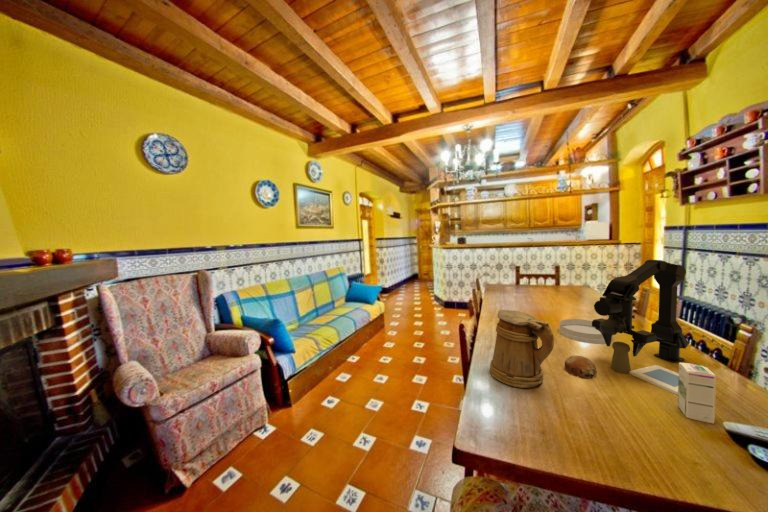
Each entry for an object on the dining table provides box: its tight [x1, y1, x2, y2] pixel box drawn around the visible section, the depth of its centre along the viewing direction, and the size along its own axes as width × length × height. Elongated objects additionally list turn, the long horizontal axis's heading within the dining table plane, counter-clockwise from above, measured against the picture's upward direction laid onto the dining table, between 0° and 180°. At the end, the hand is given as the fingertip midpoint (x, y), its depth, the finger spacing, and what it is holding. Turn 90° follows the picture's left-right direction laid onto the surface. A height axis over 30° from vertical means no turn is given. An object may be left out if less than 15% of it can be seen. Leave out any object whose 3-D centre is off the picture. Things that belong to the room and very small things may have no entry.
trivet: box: [628, 364, 679, 396], centre depth 93 cm, size 14×14×1 cm
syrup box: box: [677, 361, 717, 425], centre depth 75 cm, size 6×6×14 cm
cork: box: [609, 341, 632, 375], centre depth 100 cm, size 6×6×11 cm
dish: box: [558, 318, 614, 345], centre depth 134 cm, size 22×22×5 cm
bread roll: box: [564, 354, 598, 379], centre depth 101 cm, size 10×10×8 cm
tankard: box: [489, 309, 555, 389], centre depth 98 cm, size 18×24×25 cm
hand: (621, 351), depth 100 cm, fingers open, 9 cm apart
